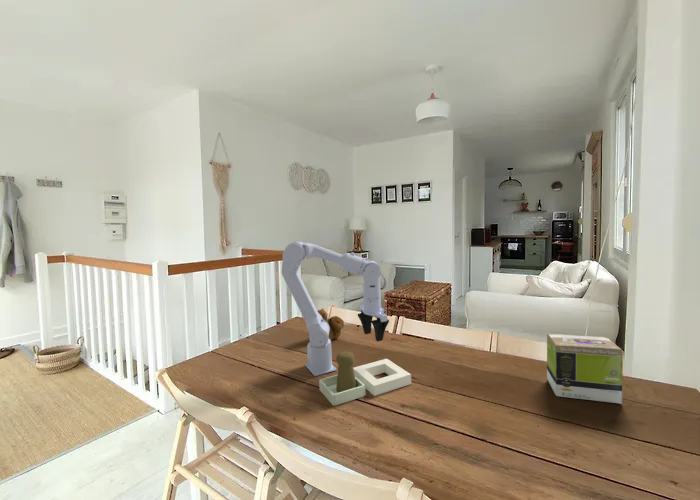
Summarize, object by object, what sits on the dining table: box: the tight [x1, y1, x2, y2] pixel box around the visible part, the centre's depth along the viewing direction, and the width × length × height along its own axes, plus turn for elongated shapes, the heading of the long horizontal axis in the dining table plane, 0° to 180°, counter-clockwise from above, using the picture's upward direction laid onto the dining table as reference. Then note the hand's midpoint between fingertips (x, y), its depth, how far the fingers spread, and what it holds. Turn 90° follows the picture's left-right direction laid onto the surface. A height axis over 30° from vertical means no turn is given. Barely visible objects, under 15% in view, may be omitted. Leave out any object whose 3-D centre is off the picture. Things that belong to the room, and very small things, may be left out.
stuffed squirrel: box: [317, 308, 345, 341], centre depth 135 cm, size 10×14×13 cm
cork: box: [335, 350, 357, 393], centre depth 94 cm, size 6×6×11 cm
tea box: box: [546, 333, 624, 405], centre depth 89 cm, size 15×10×15 cm
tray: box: [318, 373, 366, 407], centre depth 94 cm, size 10×10×3 cm
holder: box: [353, 358, 412, 397], centre depth 100 cm, size 13×13×3 cm
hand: (373, 337), depth 108 cm, fingers open, 7 cm apart
